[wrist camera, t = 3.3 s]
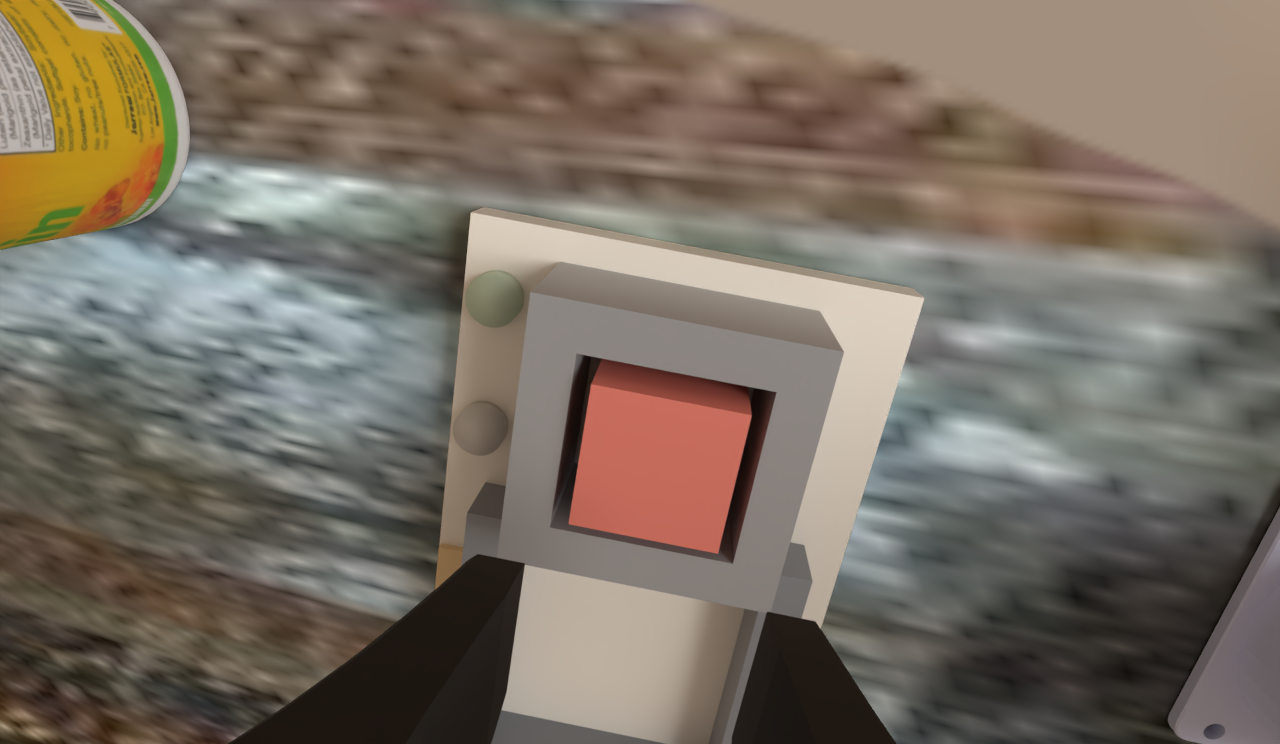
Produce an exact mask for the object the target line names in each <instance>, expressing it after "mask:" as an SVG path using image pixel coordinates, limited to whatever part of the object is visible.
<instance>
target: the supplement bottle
mask: <svg viewBox="0 0 1280 744" xmlns="http://www.w3.org/2000/svg"><path fill="white" fill-rule="evenodd" d="M189 143H190V126H189V118H188V111H187V106H186V102H185V98H184V94H183V91H182V88H181V86H180V83H179V81H178V78H177V76H176V73H175V71H174V69H173V67H172V65H171V63H170V61H169V60H168V58H167V56H166V55H165V53H164V52H163V50H162V49H161V47H160V46H159V44H158V43H157V42H156V41H155V39H154V38H153V37H152V36H151V34H150V33H149V32H148V31H147V30H146V29H145V28H144V27H143V26H142V24H141V23H140V22H139V21H137V20H136V19H135V18H134V17H133V16H132V15H131V14H130V13H129V12H128V11H126V10H125V9H124V8H122V7H121V6H120V5H118V4H117V3H115V2H114V1H113V0H0V250H2V249H7V248H11V247H17V246H22V245H27V244H33V243H38V242H43V241H48V240H53V239H59V238H64V237H69V236H74V235H80V234H85V233H90V232H96V231H101V230H106V229H110V228H115V227H119V226H123V225H126V224H130V223H133V222H135V221H138V220H140V219H142V218H143V217H145V216H147V215H149V214H150V213H152V212H153V211H155V210H156V209H157V208H158V207H160V206H161V205H162V204H163V203H164V202H165V201H166V200H167V198H168V197H169V196H170V195H171V193H172V192H173V191H174V189H175V188H176V186H177V184H178V182H179V180H180V178H181V176H182V173H183V171H184V168H185V165H186V161H187V157H188V151H189Z"/></svg>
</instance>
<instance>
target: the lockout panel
mask: <svg viewBox="0 0 1280 744" xmlns="http://www.w3.org/2000/svg"><path fill="white" fill-rule="evenodd" d="M923 301H924V297H922V296H921V295H920V294H919V293H917V292H916V291H915V290H914V289H913V288H909V287H904V286H899V285H893V284H888V283H883V282H877V281H872V280H867V279H862V278H856V277H851V276H846V275H840V274H835V273H830V272H825V271H819V270H814V269H809V268H803V267H798V266H793V265H788V264H782V263H777V262H772V261H766V260H761V259H756V258H751V257H745V256H740V255H735V254H729V253H724V252H719V251H714V250H708V249H703V248H698V247H692V246H687V245H682V244H677V243H671V242H666V241H661V240H655V239H650V238H645V237H640V236H634V235H629V234H624V233H618V232H613V231H608V230H603V229H597V228H592V227H587V226H581V225H576V224H571V223H566V222H560V221H555V220H550V219H545V218H539V217H534V216H529V215H523V214H518V213H513V212H508V211H502V210H497V209H492V208H486V207H483V208H480V209H478V210H475V211H473V212H471V217H470V227H469V238H468V248H467V259H466V269H465V280H464V290H463V301H462V311H461V322H460V332H459V343H458V353H457V364H456V375H455V385H454V396H453V406H452V417H451V427H450V438H449V448H448V459H447V469H446V480H445V490H444V501H443V511H442V522H441V532H440V543H439V550H438V561H437V571H436V582H435V589H436V588H438V587H439V586H440V585H441V584H442V583H443V582H444V581H445V580H447V579H448V578H449V577H450V576H451V575H452V574H453V573H454V572H455V571H456V570H458V569H459V568H460V567H461V566H462V565H463V564H464V563H465V562H466V561H467V560H469V559H470V558H472V557H474V556H475V555H477V554H481V555H486V556H491V557H496V558H501V559H506V560H511V561H516V562H521V563H525V567H524V574H523V581H522V588H521V595H520V602H519V609H518V616H517V623H516V630H515V637H514V644H513V651H512V658H511V665H510V672H509V679H508V686H507V692H506V696H505V699H504V703H503V706H502V709H501V713H500V716H499V719H498V723H497V726H496V730H495V733H494V736H493V740H492V743H491V744H731V742H732V734H733V731H734V727H735V724H736V720H737V716H738V713H739V709H740V706H741V702H742V699H743V695H744V692H745V688H746V684H747V681H748V677H749V674H750V670H751V667H752V663H753V659H754V656H755V652H756V649H757V645H758V642H759V638H760V635H761V631H762V627H763V624H764V620H765V617H766V613H767V612H772V613H777V614H782V615H787V616H792V617H797V618H802V619H807V620H812V621H816V623H817V624H818V626H819V627H820V629H821V626H822V623H823V620H824V617H825V614H826V611H827V607H828V604H829V601H830V598H831V595H832V591H833V588H834V585H835V582H836V579H837V575H838V572H839V569H840V566H841V563H842V560H843V556H844V553H845V550H846V547H847V544H848V540H849V537H850V534H851V531H852V528H853V524H854V521H855V518H856V515H857V512H858V508H859V505H860V502H861V499H862V496H863V493H864V489H865V486H866V483H867V480H868V477H869V473H870V470H871V467H872V464H873V461H874V457H875V454H876V451H877V448H878V445H879V441H880V438H881V435H882V432H883V429H884V426H885V422H886V419H887V416H888V413H889V410H890V406H891V403H892V400H893V397H894V394H895V390H896V387H897V384H898V381H899V378H900V374H901V371H902V368H903V365H904V362H905V359H906V355H907V352H908V349H909V346H910V343H911V339H912V336H913V333H914V330H915V327H916V323H917V320H918V317H919V314H920V311H921V307H922V304H923ZM602 359H607V360H612V361H618V362H623V363H628V364H633V365H638V366H644V367H649V368H654V369H659V370H664V371H669V372H675V373H680V374H685V375H690V376H695V377H700V378H706V379H711V380H716V381H721V382H726V383H732V384H737V385H742V386H747V387H748V393H749V400H750V406H751V413H752V417H751V421H750V425H749V429H748V433H747V438H746V442H745V446H744V450H743V454H742V458H741V462H740V466H739V470H738V474H737V478H736V482H735V486H734V490H733V495H732V499H731V503H730V507H729V511H728V515H727V519H726V523H725V527H724V531H723V535H722V539H721V543H720V547H719V552H718V554H716V553H711V552H706V551H701V550H696V549H691V548H686V547H681V546H676V545H671V544H666V543H661V542H656V541H651V540H646V539H641V538H636V537H631V536H626V535H621V534H616V533H610V532H605V531H600V530H595V529H590V528H585V527H580V526H575V525H570V524H569V517H570V511H571V505H572V499H573V493H574V487H575V480H576V474H577V468H578V462H579V456H580V450H581V443H582V437H583V431H584V425H585V419H586V413H587V407H588V400H589V394H590V388H591V383H592V381H593V379H594V376H595V374H596V372H597V369H598V367H599V365H600V362H601V360H602Z"/></svg>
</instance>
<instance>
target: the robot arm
mask: <svg viewBox="0 0 1280 744" xmlns="http://www.w3.org/2000/svg"><path fill="white" fill-rule="evenodd" d="M524 567H525V563H521V562H516V561H511V560H506V559H501V558H496V557H491V556H486V555H481V554H477V555H475V556H474V557H472V558H470V559H469V560H467V561H466V562H465V563H464V564H463V565H462V566H461V567H460V568H459V569H458V570H456V571H455V572H454V573H453V574H452V575H451V576H450V577H449V578H448V579H447V580H445V581H444V582H443V583H442V584H441V585H440V586H439V587H438V588H436V589H435V590H434V591H433V592H432V593H431V594H430V595H429V596H427V597H426V598H425V599H424V600H423V601H422V602H420V603H419V604H418V605H417V606H416V607H415V608H413V609H412V610H411V611H410V612H409V613H408V614H406V615H405V616H404V617H403V618H401V619H400V620H399V621H398V622H396V623H395V624H394V625H393V626H391V627H390V628H389V629H388V630H387V631H385V632H384V633H383V634H382V635H380V636H379V637H378V638H377V639H375V640H374V641H373V642H372V643H370V644H369V645H368V646H367V647H365V648H364V649H363V650H362V651H360V652H359V653H358V654H356V655H355V656H354V657H353V658H351V659H350V660H349V661H347V662H346V663H345V664H343V665H342V666H340V667H339V668H338V669H336V670H335V671H333V672H332V673H331V674H329V675H328V676H327V677H325V678H324V679H322V680H321V681H320V682H318V683H317V684H315V685H314V686H313V687H311V688H310V689H309V690H307V691H306V692H304V693H303V694H302V695H300V696H299V697H297V698H296V699H295V700H293V701H292V702H291V703H289V704H288V705H286V706H285V707H283V708H282V709H280V710H279V711H277V712H276V713H274V714H273V715H271V716H270V717H268V718H267V719H265V720H264V721H262V722H261V723H259V724H258V725H256V726H255V727H253V728H252V729H250V730H249V731H247V732H245V733H244V734H242V735H241V736H239V737H238V738H236V739H235V740H233V741H231V742H230V743H228V744H491V743H492V740H493V736H494V733H495V730H496V726H497V723H498V719H499V716H500V713H501V709H502V706H503V703H504V699H505V696H506V692H507V686H508V679H509V672H510V665H511V658H512V651H513V644H514V637H515V630H516V623H517V616H518V609H519V602H520V595H521V588H522V581H523V574H524ZM1168 723H1169V726H1170V727H1171V728H1172V730H1173V731H1174V732H1175V734H1176V735H1177V736H1178V737H1179V738H1181V739H1183V740H1186V741H1191V742H1196V743H1201V744H1280V508H1279V509H1278V511H1277V513H1276V515H1275V517H1274V519H1273V521H1272V523H1271V524H1270V526H1269V528H1268V530H1267V532H1266V534H1265V536H1264V538H1263V539H1262V541H1261V543H1260V545H1259V547H1258V549H1257V551H1256V553H1255V554H1254V556H1253V558H1252V560H1251V562H1250V564H1249V566H1248V567H1247V569H1246V571H1245V573H1244V575H1243V577H1242V579H1241V581H1240V582H1239V584H1238V586H1237V588H1236V590H1235V592H1234V594H1233V596H1232V597H1231V599H1230V601H1229V603H1228V605H1227V607H1226V609H1225V610H1224V612H1223V614H1222V616H1221V618H1220V620H1219V622H1218V624H1217V625H1216V627H1215V629H1214V631H1213V633H1212V635H1211V637H1210V639H1209V640H1208V642H1207V644H1206V646H1205V648H1204V650H1203V652H1202V654H1201V655H1200V657H1199V659H1198V661H1197V663H1196V665H1195V667H1194V668H1193V670H1192V672H1191V674H1190V676H1189V678H1188V680H1187V682H1186V683H1185V685H1184V687H1183V689H1182V691H1181V693H1180V695H1179V697H1178V698H1177V700H1176V702H1175V704H1174V706H1173V708H1172V710H1171V712H1170V713H1169V716H1168ZM1209 725H1211V726H1209ZM1207 726H1209V727H1207ZM1206 727H1207V728H1206ZM731 744H896V742H895V741H894V740H893V738H892V737H891V735H890V734H889V732H888V731H887V730H886V728H885V727H884V725H883V724H882V722H881V721H880V719H879V718H878V716H877V715H876V713H875V712H874V710H873V709H872V707H871V706H870V704H869V703H868V701H867V700H866V698H865V697H864V695H863V694H862V692H861V691H860V689H859V687H858V686H857V684H856V683H855V681H854V680H853V678H852V677H851V675H850V674H849V672H848V671H847V669H846V667H845V666H844V664H843V663H842V661H841V660H840V658H839V657H838V655H837V653H836V652H835V650H834V649H833V647H832V646H831V644H830V643H829V641H828V640H827V638H826V637H825V635H824V634H823V632H822V630H821V629H820V627H819V626H818V624H817V623H816V621H812V620H807V619H802V618H797V617H792V616H787V615H782V614H777V613H772V612H767V613H766V617H765V620H764V624H763V627H762V631H761V635H760V638H759V642H758V645H757V649H756V652H755V656H754V659H753V663H752V667H751V670H750V674H749V677H748V681H747V684H746V688H745V692H744V695H743V699H742V702H741V706H740V709H739V713H738V716H737V720H736V724H735V727H734V731H733V734H732V742H731Z"/></svg>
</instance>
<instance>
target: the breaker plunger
mask: <svg viewBox="0 0 1280 744" xmlns="http://www.w3.org/2000/svg"><path fill="white" fill-rule="evenodd" d="M751 417H752V413H751V406H750V400H749V393H748V387H747V386H742V385H737V384H732V383H726V382H721V381H716V380H711V379H706V378H700V377H695V376H690V375H685V374H680V373H675V372H669V371H664V370H659V369H654V368H649V367H644V366H638V365H633V364H628V363H623V362H618V361H612V360H607V359H602V360H601V362H600V365H599V367H598V369H597V372H596V374H595V376H594V379H593V381H592V383H591V388H590V394H589V400H588V407H587V413H586V419H585V425H584V431H583V437H582V443H581V450H580V456H579V462H578V468H577V474H576V480H575V487H574V493H573V499H572V505H571V511H570V517H569V524H570V525H575V526H580V527H585V528H590V529H595V530H600V531H605V532H610V533H616V534H621V535H626V536H631V537H636V538H641V539H646V540H651V541H656V542H661V543H666V544H671V545H676V546H681V547H686V548H691V549H696V550H701V551H706V552H711V553H716V554H718V552H719V547H720V543H721V539H722V535H723V531H724V527H725V523H726V519H727V515H728V511H729V507H730V503H731V499H732V495H733V490H734V486H735V482H736V478H737V474H738V470H739V466H740V462H741V458H742V454H743V450H744V446H745V442H746V438H747V433H748V429H749V425H750V421H751Z"/></svg>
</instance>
